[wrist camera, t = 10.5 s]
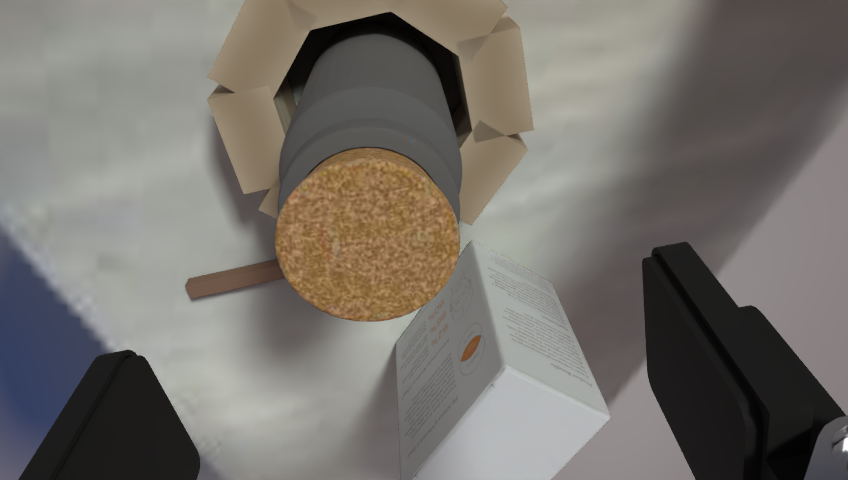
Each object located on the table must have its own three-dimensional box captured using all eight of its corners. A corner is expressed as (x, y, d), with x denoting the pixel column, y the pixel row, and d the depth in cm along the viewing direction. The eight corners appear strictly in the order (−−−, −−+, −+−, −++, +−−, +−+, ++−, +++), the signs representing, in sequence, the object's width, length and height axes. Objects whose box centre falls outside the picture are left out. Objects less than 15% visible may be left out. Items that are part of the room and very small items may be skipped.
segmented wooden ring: (487, -95, 26) (504, -92, 23) (527, 180, 32) (545, 216, 29) (192, -24, 27) (164, -11, 23) (286, 233, 33) (275, 274, 29)
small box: (472, 379, 38) (502, 535, 29) (392, 341, 36) (396, 495, 27) (555, 280, 35) (617, 420, 26) (471, 235, 33) (506, 367, 24)
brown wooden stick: (373, 238, 33) (373, 244, 32) (377, 251, 33) (377, 258, 33) (188, 278, 34) (184, 285, 33) (194, 291, 34) (190, 298, 33)
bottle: (425, 157, 31) (454, 353, 18) (304, 135, 30) (241, 324, 17) (451, 35, 28) (509, 161, 15) (320, 8, 28) (260, 116, 14)
